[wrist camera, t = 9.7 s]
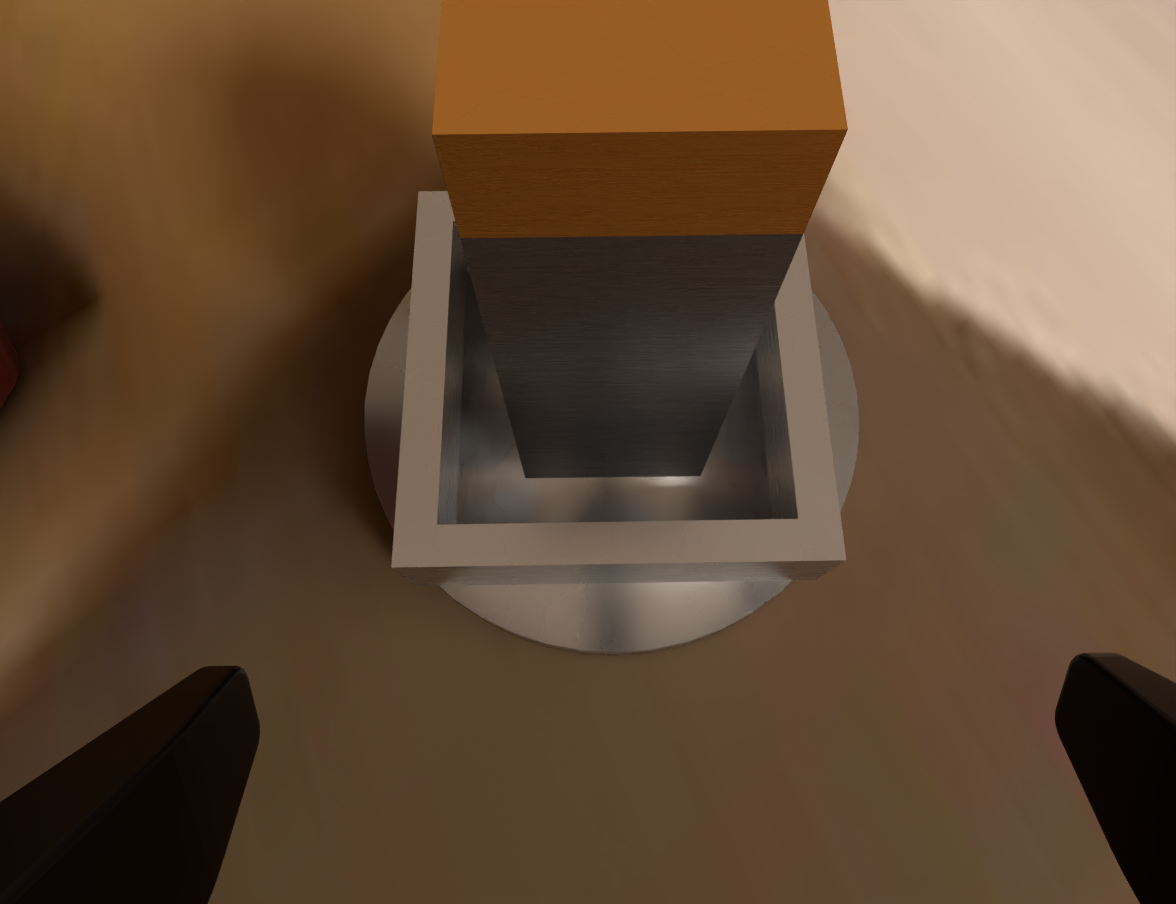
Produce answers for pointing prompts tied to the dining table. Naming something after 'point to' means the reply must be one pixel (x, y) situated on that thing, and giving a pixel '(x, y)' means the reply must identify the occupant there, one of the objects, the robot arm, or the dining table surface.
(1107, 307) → the dining table surface
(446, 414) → the square socket
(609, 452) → the orange square peg
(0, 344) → the plant pot
